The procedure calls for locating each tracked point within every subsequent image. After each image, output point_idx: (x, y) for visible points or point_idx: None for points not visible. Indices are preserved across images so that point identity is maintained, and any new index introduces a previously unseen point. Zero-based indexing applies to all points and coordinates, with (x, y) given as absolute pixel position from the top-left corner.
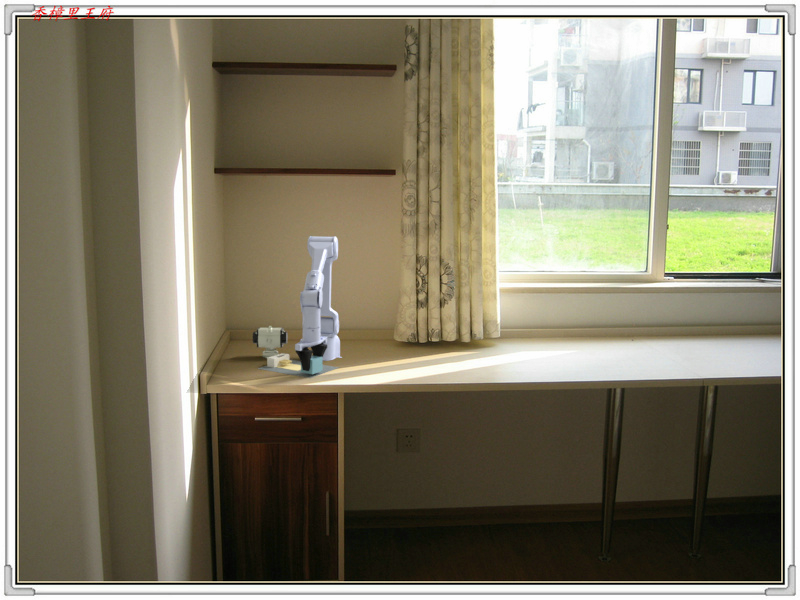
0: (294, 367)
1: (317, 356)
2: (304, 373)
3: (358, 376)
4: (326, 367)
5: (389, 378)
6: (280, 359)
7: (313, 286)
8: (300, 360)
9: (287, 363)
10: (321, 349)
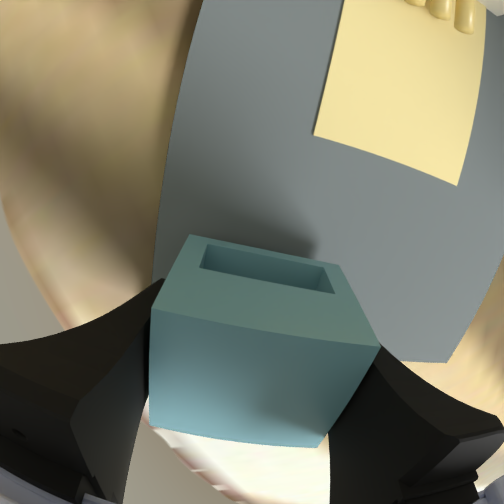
0: (403, 75)
1: (323, 419)
2: (250, 233)
3: (328, 449)
4: (449, 304)
5: (321, 496)
6: None
7: None
8: (104, 317)
9: (418, 6)
10: (338, 501)
